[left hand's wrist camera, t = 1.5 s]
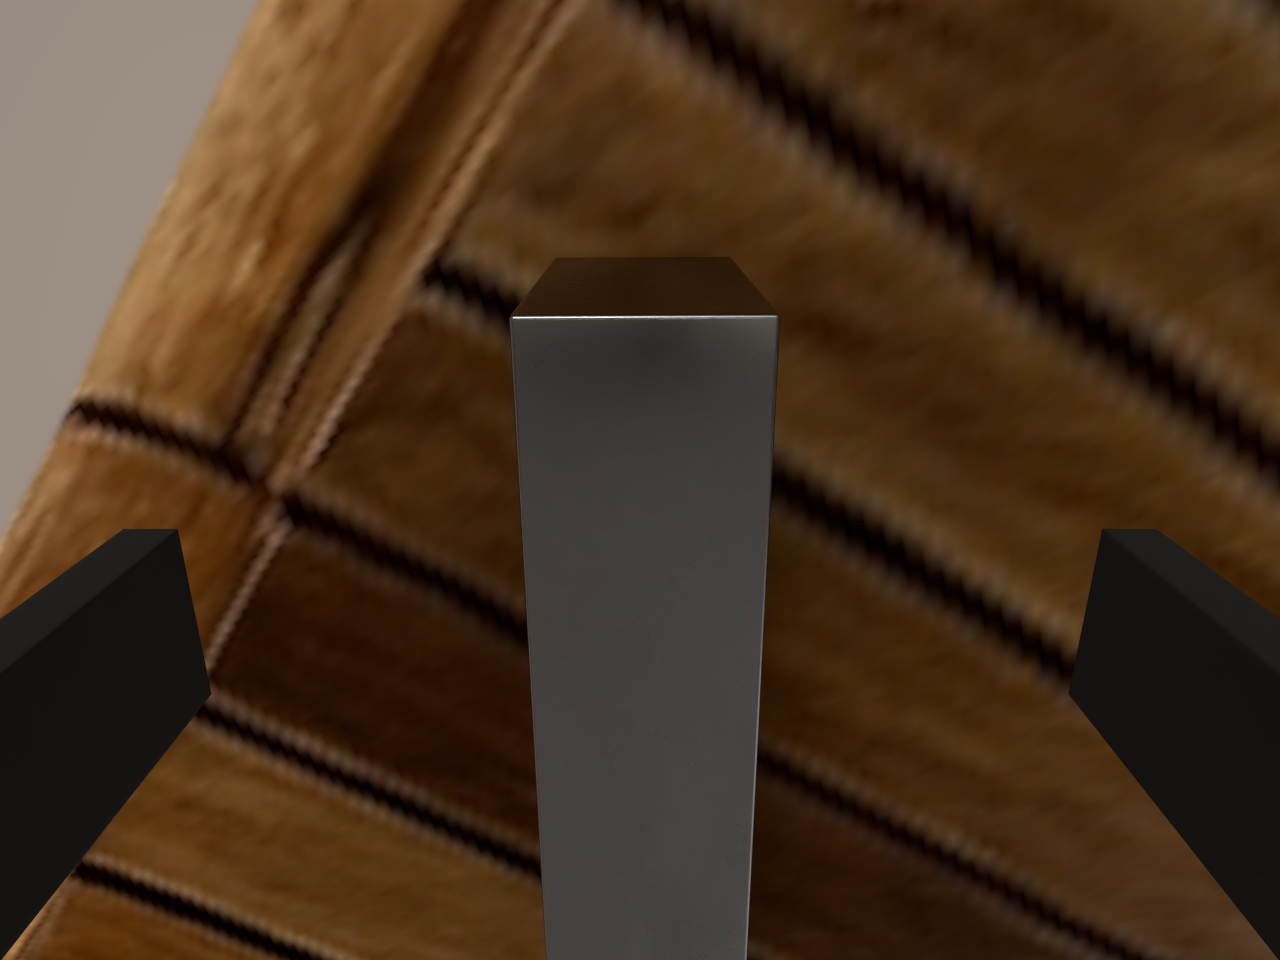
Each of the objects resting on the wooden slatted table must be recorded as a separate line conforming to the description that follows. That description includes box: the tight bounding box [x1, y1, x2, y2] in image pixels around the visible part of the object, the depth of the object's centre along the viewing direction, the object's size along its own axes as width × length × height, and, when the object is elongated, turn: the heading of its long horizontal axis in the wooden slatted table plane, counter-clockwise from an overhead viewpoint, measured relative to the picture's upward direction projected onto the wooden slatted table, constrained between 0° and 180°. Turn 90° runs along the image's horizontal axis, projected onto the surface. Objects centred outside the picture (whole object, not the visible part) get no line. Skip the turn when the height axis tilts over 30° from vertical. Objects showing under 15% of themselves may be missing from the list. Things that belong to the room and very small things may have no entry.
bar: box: [509, 257, 780, 960], centre depth 24 cm, size 26×5×9 cm, turn 0°
